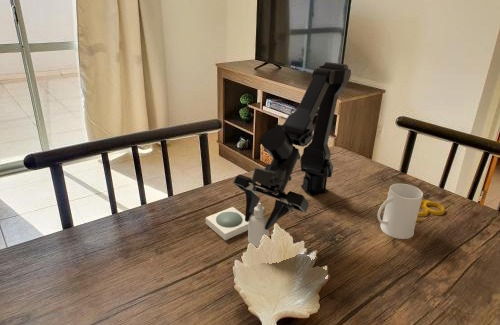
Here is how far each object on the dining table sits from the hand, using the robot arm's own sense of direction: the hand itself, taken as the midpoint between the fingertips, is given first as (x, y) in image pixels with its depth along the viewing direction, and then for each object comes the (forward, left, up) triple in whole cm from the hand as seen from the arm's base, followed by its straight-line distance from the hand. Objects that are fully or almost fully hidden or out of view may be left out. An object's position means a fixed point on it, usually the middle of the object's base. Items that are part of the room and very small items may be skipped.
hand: (255, 225), depth 88 cm
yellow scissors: (-51, +1, -7) cm, 52 cm away
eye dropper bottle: (-1, -1, -7) cm, 7 cm away
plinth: (+3, -11, -7) cm, 13 cm away
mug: (-37, +6, -7) cm, 38 cm away
